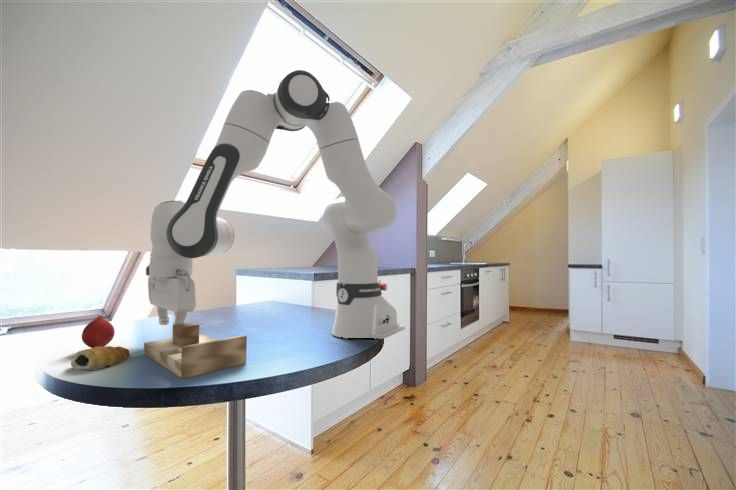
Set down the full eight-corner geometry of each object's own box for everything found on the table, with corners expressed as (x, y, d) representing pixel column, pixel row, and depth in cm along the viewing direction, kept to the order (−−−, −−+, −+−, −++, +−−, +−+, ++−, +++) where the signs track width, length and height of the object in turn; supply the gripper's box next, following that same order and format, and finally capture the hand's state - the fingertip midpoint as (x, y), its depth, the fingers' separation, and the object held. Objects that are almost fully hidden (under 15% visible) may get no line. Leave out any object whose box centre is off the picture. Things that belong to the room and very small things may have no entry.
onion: (85, 355, 74) (86, 318, 74) (78, 351, 78) (79, 315, 78) (117, 349, 79) (118, 314, 79) (109, 345, 82) (110, 311, 83)
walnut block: (191, 339, 78) (191, 322, 78) (199, 343, 76) (199, 324, 76) (172, 343, 75) (172, 324, 75) (179, 346, 73) (179, 327, 73)
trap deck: (200, 343, 84) (200, 321, 85) (246, 363, 70) (246, 335, 70) (143, 354, 75) (144, 329, 76) (183, 378, 61) (183, 347, 61)
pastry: (114, 356, 75) (115, 338, 75) (138, 359, 73) (139, 341, 73) (66, 370, 66) (67, 349, 66) (92, 373, 64) (93, 353, 64)
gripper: (203, 270, 78) (203, 332, 77) (170, 267, 91) (170, 319, 91) (173, 271, 73) (172, 337, 73) (143, 268, 86) (142, 323, 86)
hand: (170, 327), depth 82 cm, fingers open, 8 cm apart
